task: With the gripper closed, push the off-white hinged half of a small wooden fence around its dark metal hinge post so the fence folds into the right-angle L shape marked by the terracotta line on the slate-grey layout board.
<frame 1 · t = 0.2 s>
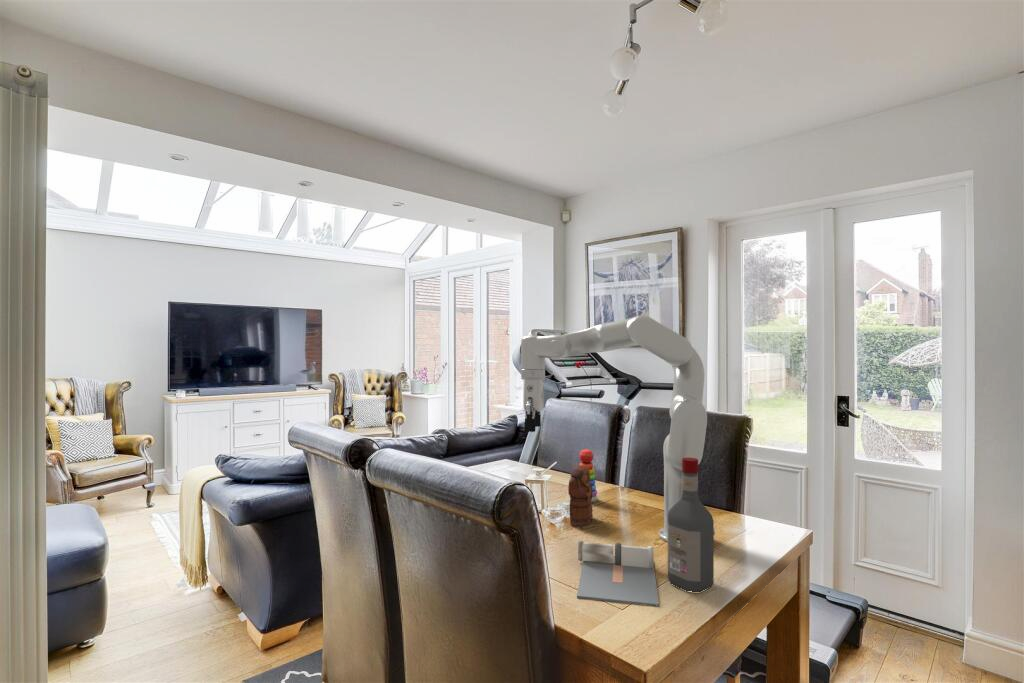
hand: (532, 428, 163), 31 cm above the table, tool pointing down, fingers open, 9 cm apart
stacking toy: (586, 500, 191), on the table
liquor: (690, 584, 125), on the table
wooden figurine: (581, 521, 168), on the table
hinged panel: (595, 551, 136), point 3 cm above the table, hinge at 0.0°
layout board: (617, 578, 128), on the table
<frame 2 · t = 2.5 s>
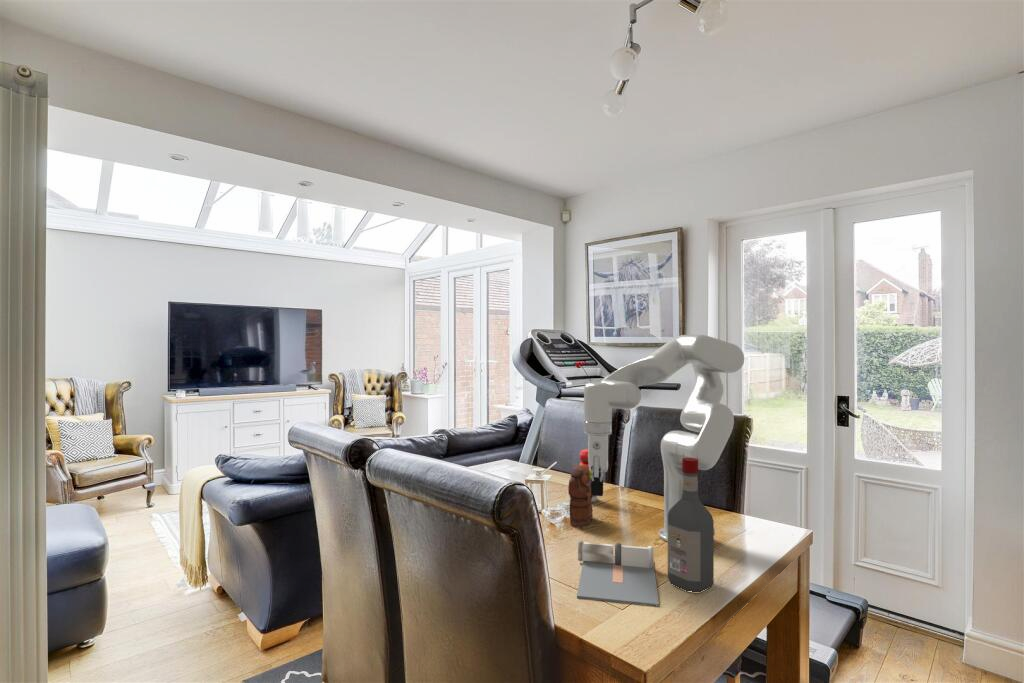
hand: (597, 494, 141), 16 cm above the table, tool pointing down, fingers closed
nothing on the table moved.
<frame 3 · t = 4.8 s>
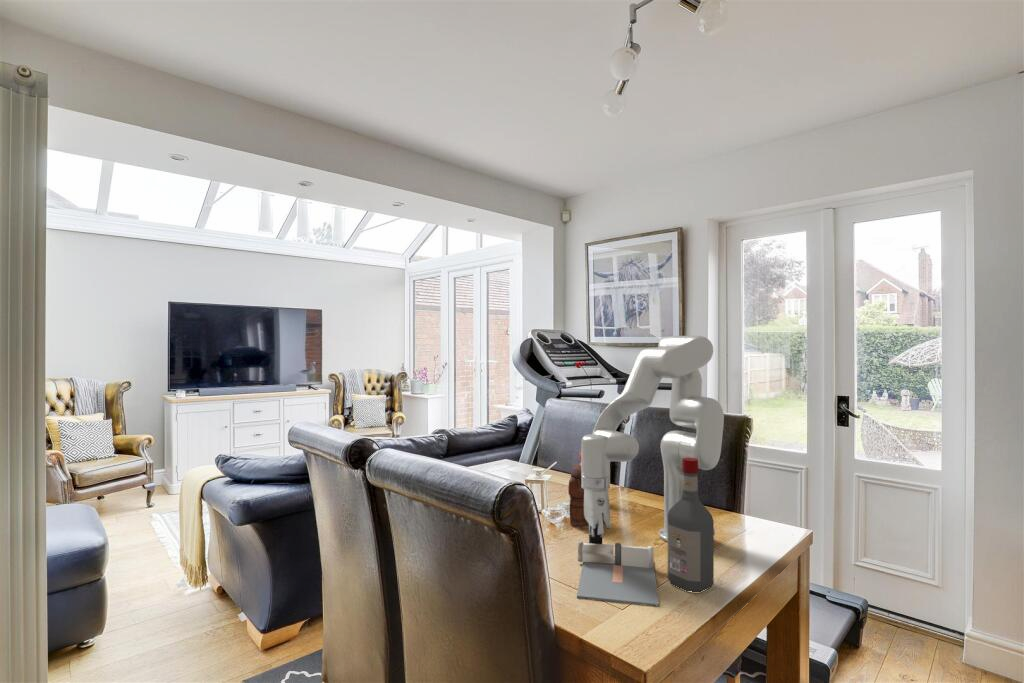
hand: (595, 550, 138), 3 cm above the table, tool pointing down, fingers closed
hinged panel: (595, 552, 135), point 3 cm above the table, hinge at 3.7°, touching gripper
everything else where it was.
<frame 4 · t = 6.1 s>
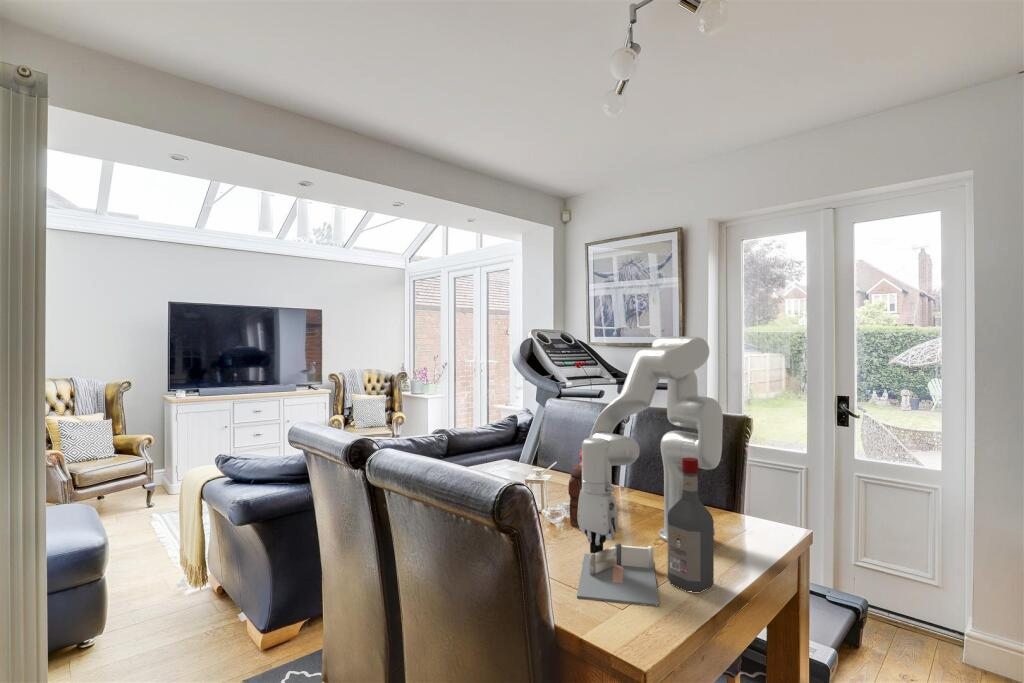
hand: (596, 557, 133), 3 cm above the table, tool pointing down, fingers closed
hinged panel: (603, 559, 131), point 3 cm above the table, hinge at 50.7°, touching gripper
everything else where it was.
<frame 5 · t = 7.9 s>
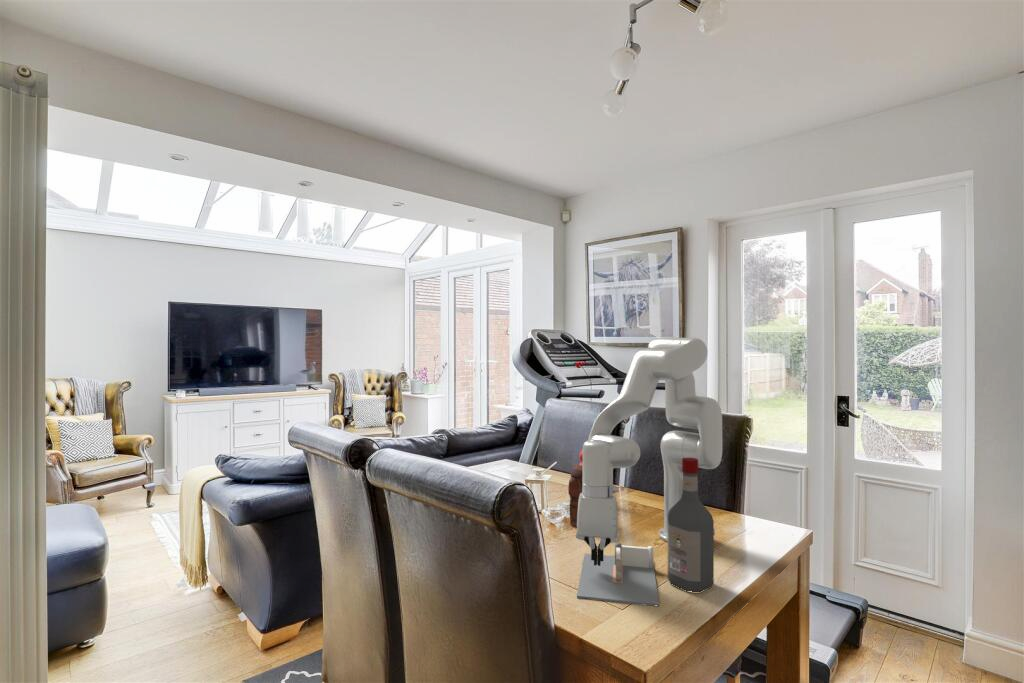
hand: (597, 563, 130), 3 cm above the table, tool pointing down, fingers closed
hinged panel: (618, 563, 129), point 3 cm above the table, hinge at 91.6°
everything else where it was.
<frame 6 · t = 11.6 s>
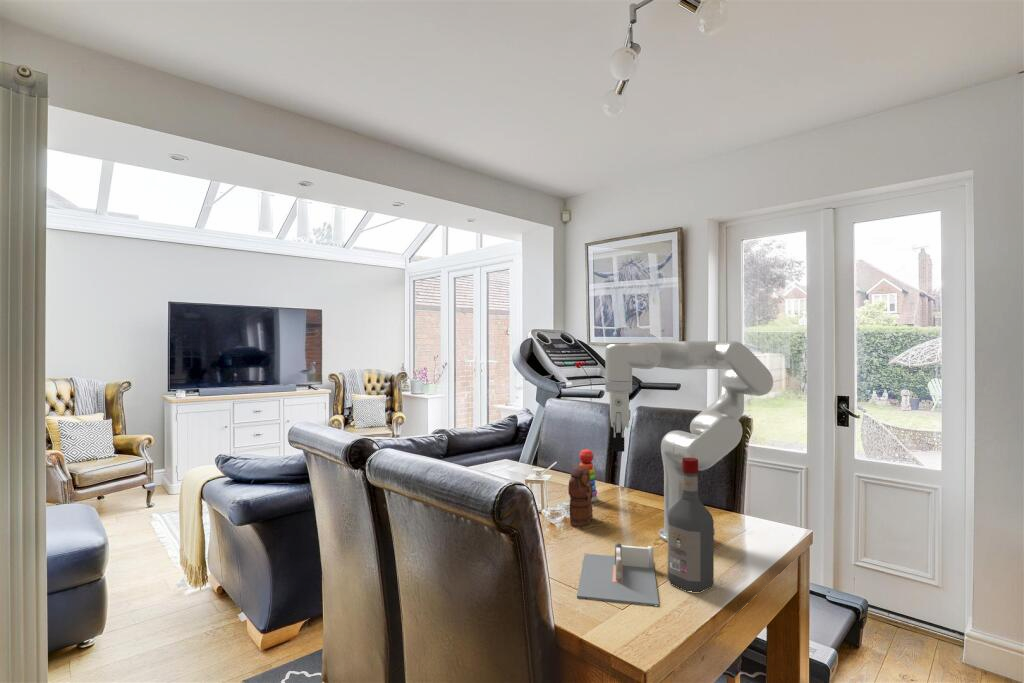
hand: (618, 450, 148), 27 cm above the table, tool pointing down, fingers closed
nothing on the table moved.
at the end: hinged panel at +92° (first picture: +0°); liquor moved 0.2 cm from its start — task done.
